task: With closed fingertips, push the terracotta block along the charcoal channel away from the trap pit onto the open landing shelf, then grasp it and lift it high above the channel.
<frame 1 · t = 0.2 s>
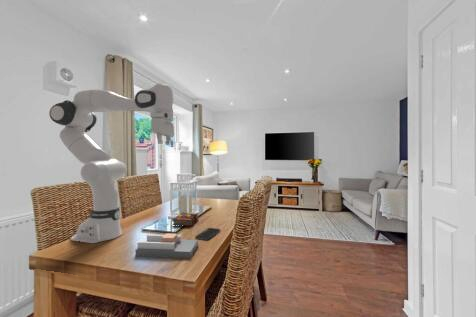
hand: (164, 144, 105), 47 cm above the table, fingers open, 8 cm apart
decorative book: (185, 223, 130), on the table
phone: (208, 235, 111), on the table
channel: (168, 250, 92), on the table
block: (169, 244, 92), point 2 cm above the table, touching channel
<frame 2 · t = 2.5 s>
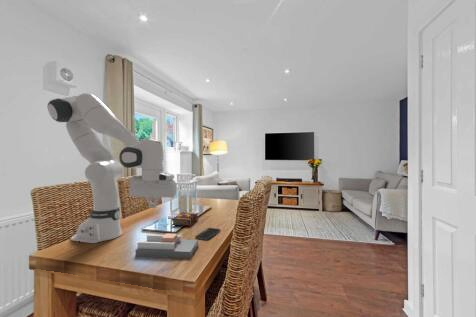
hand: (152, 207, 92), 19 cm above the table, fingers closed
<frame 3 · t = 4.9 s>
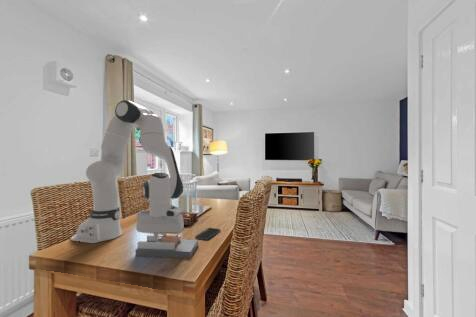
hand: (160, 241, 92), 4 cm above the table, fingers closed
block: (170, 244, 92), point 3 cm above the table, touching channel, gripper
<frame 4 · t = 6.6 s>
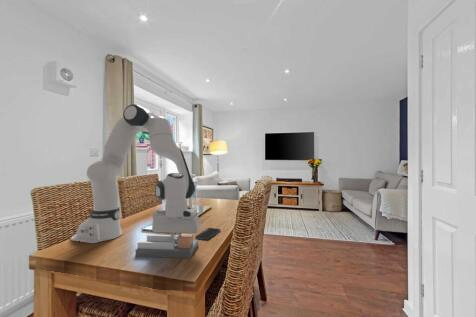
hand: (176, 242, 91), 4 cm above the table, fingers closed
block: (185, 245, 91), point 2 cm above the table, touching channel, gripper
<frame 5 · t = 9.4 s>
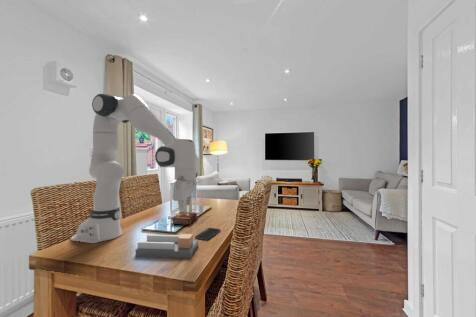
hand: (185, 207, 91), 19 cm above the table, fingers open, 7 cm apart
block: (185, 245, 91), point 2 cm above the table, touching channel
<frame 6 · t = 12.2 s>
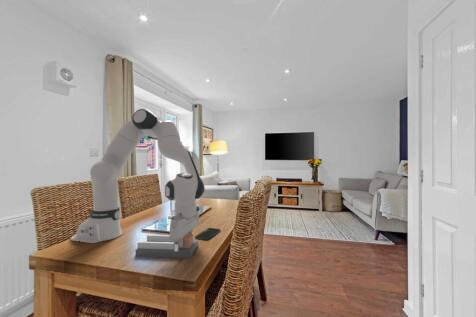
hand: (185, 242, 91), 4 cm above the table, fingers closed on block, 5 cm apart
block: (185, 245, 91), point 3 cm above the table, touching channel, gripper
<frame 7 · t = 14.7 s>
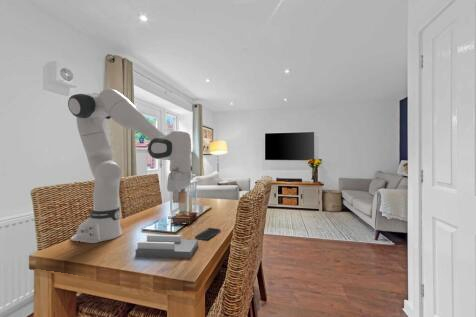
hand: (179, 199, 92), 22 cm above the table, fingers closed on block, 5 cm apart
block: (179, 201, 92), point 21 cm above the table, touching gripper
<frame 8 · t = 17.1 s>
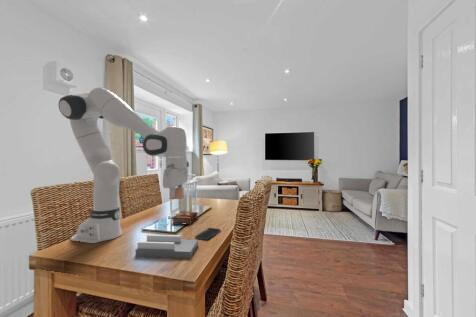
hand: (176, 195, 91), 24 cm above the table, fingers closed on block, 5 cm apart
block: (176, 198, 91), point 23 cm above the table, touching gripper
at the end: block point 23.0 cm above the table; the gripper is holding block; block touching gripper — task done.
